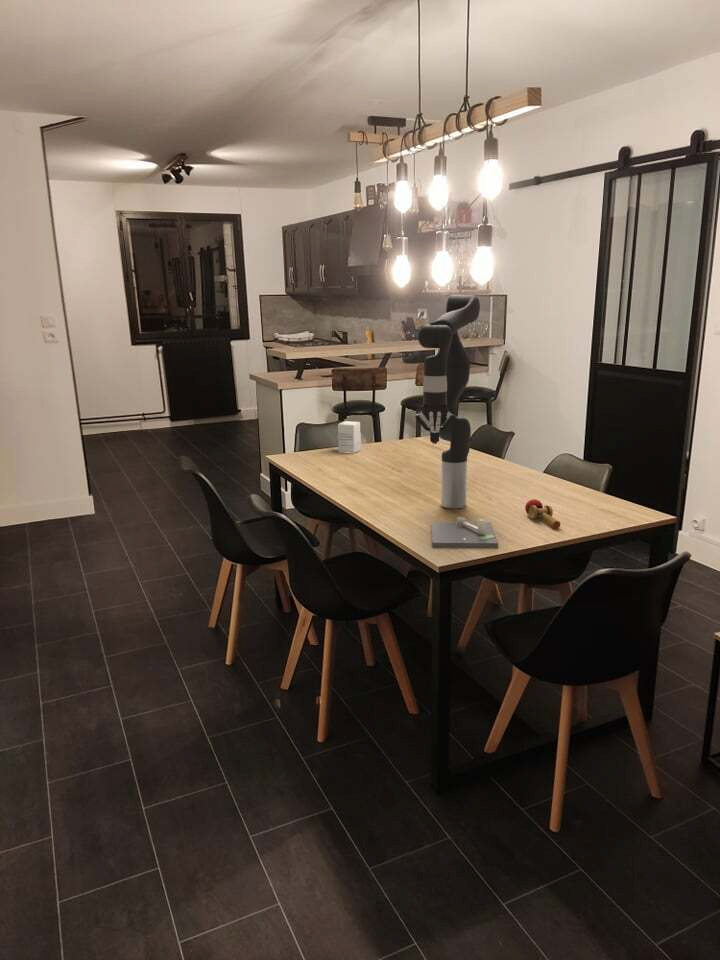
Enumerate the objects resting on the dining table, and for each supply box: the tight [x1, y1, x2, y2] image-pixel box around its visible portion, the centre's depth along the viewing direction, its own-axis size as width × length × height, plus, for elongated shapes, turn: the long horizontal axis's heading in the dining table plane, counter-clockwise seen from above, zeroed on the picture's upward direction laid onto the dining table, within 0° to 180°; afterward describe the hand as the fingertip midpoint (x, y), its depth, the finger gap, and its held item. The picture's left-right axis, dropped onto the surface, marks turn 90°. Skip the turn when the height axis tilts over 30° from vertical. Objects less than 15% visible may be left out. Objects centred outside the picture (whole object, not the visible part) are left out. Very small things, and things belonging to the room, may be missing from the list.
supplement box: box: [337, 420, 362, 454], centre depth 340 cm, size 9×9×15 cm
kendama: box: [524, 499, 561, 530], centre depth 230 cm, size 8×6×18 cm
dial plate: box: [430, 521, 499, 549], centre depth 217 cm, size 20×20×2 cm
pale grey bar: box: [456, 516, 486, 535], centre depth 218 cm, size 14×3×5 cm, turn 26°
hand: (434, 443), depth 218 cm, fingers closed
